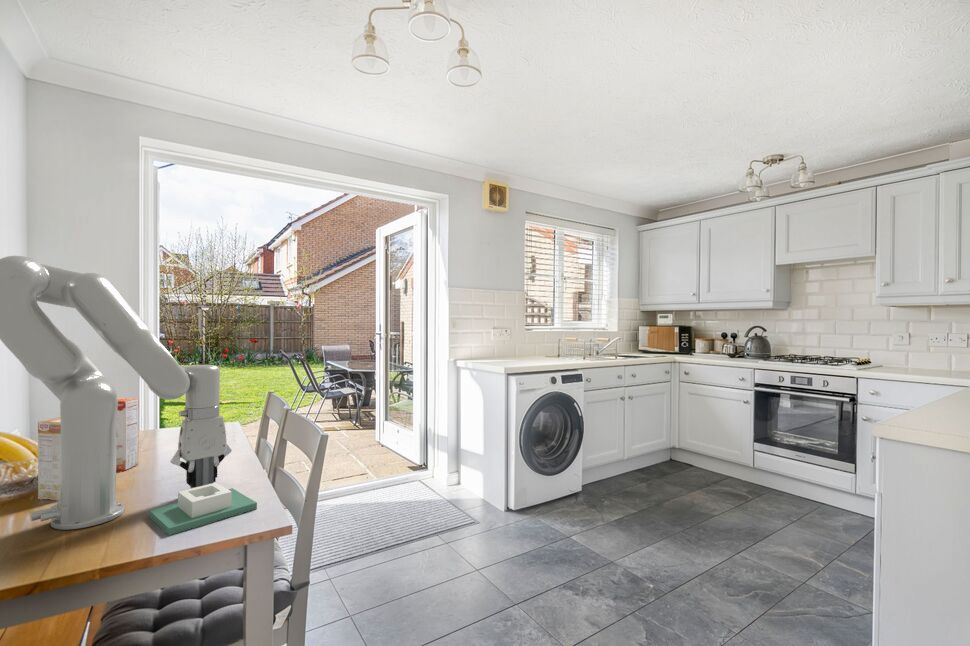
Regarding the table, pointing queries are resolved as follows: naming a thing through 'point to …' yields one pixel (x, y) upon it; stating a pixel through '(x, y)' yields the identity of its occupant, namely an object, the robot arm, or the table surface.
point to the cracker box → (127, 433)
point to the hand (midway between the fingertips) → (202, 482)
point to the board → (179, 521)
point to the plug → (204, 471)
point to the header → (204, 499)
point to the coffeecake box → (49, 459)
